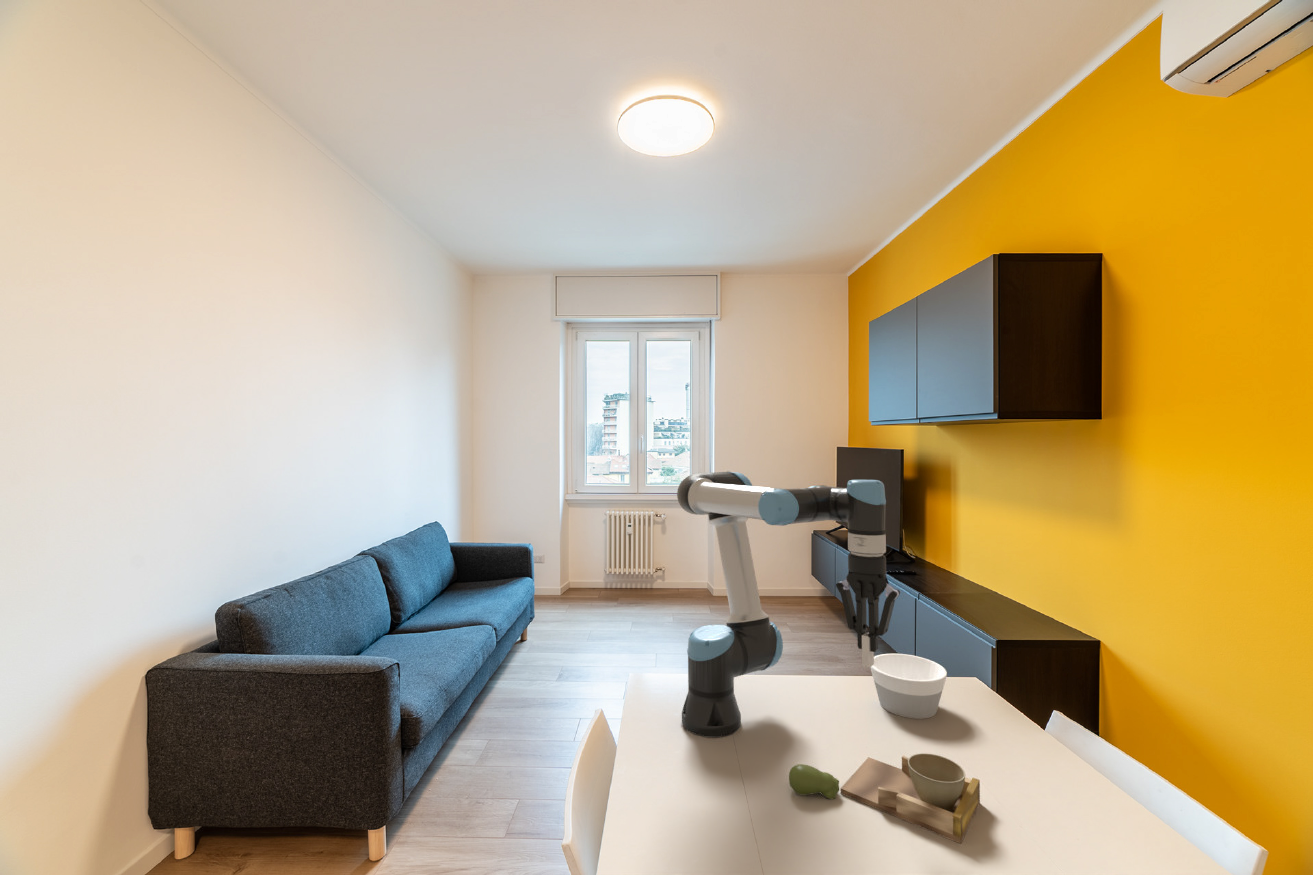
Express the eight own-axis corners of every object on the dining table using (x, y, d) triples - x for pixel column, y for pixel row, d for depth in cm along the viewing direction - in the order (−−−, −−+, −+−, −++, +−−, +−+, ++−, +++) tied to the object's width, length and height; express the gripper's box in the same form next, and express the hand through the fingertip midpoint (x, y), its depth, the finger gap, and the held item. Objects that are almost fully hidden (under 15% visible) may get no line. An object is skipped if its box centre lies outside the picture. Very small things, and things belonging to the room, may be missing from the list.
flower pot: (973, 824, 103) (972, 785, 103) (914, 816, 105) (914, 778, 105) (956, 791, 112) (956, 755, 112) (903, 785, 115) (903, 750, 115)
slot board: (840, 793, 114) (840, 771, 114) (868, 761, 125) (868, 741, 125) (960, 843, 99) (960, 818, 99) (980, 802, 111) (979, 779, 111)
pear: (789, 756, 117) (837, 766, 116) (785, 781, 117) (833, 791, 116) (793, 771, 112) (844, 782, 111) (789, 797, 112) (839, 808, 111)
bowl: (962, 723, 142) (961, 681, 142) (885, 723, 142) (885, 681, 142) (926, 690, 161) (926, 653, 161) (859, 690, 161) (859, 653, 161)
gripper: (829, 551, 120) (830, 662, 119) (892, 559, 111) (893, 679, 111) (844, 547, 125) (845, 652, 125) (904, 554, 117) (906, 668, 116)
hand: (868, 665), depth 118 cm, fingers closed
